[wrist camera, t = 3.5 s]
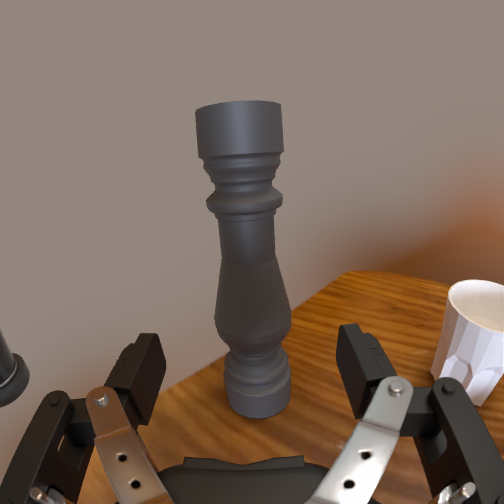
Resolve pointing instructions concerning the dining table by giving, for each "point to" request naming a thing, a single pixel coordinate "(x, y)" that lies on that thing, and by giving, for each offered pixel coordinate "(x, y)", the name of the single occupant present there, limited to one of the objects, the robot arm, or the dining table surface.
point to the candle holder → (248, 251)
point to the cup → (472, 338)
